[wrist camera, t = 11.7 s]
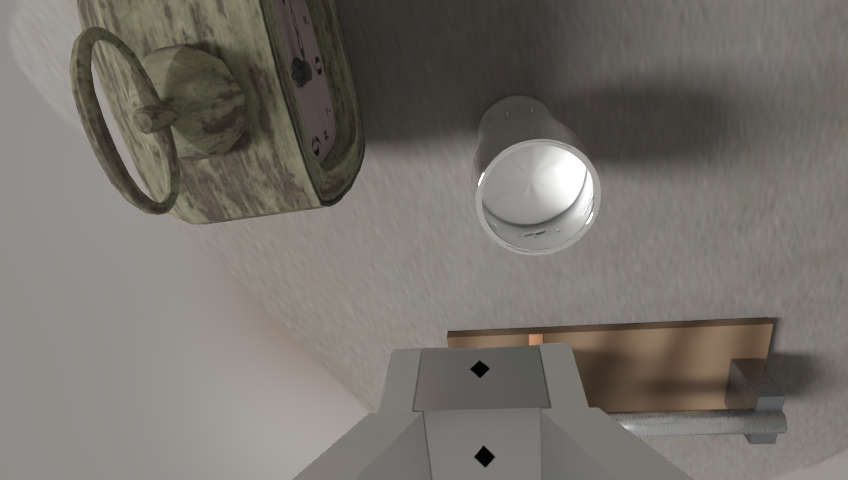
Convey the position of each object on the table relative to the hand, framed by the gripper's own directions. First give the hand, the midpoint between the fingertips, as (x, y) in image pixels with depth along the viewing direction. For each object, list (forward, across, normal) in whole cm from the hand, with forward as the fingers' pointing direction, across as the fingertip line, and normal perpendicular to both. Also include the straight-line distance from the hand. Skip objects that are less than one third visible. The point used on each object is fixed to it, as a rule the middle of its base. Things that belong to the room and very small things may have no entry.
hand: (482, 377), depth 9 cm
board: (+34, -10, +28) cm, 45 cm away
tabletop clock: (+34, +13, -3) cm, 37 cm away
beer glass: (+34, -3, +4) cm, 35 cm away
